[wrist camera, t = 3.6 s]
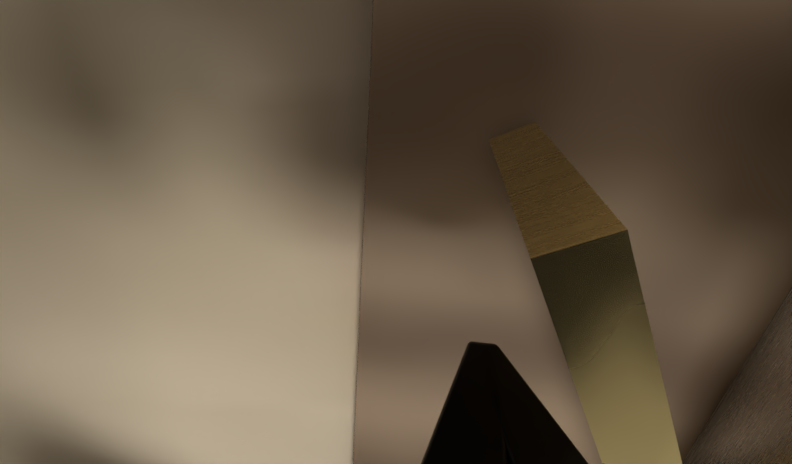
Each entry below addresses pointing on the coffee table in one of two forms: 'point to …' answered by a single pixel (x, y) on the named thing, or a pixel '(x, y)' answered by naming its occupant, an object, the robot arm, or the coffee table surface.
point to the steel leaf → (755, 404)
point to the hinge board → (601, 168)
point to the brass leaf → (590, 298)
